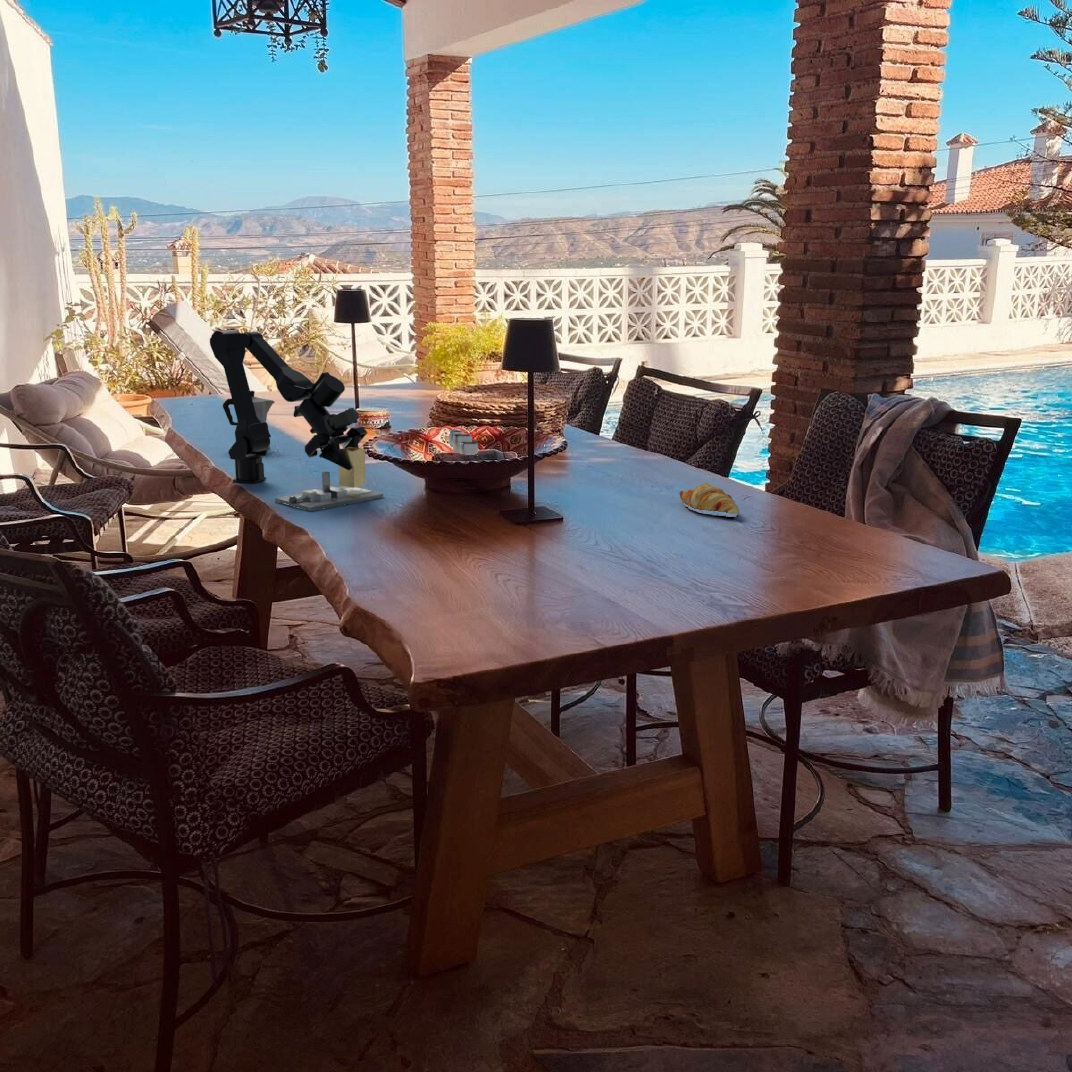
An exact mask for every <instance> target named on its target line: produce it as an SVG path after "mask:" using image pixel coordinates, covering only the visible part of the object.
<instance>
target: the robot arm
mask: <svg viewBox="0 0 1072 1072" xmlns="http://www.w3.org/2000/svg"><path fill="white" fill-rule="evenodd" d="M209 346H210V348H211V351H212V353H213V355H214V358H215V359H216V360H217V361H218V363H220V365H221V366H222V367H223V370H224V373H225V377H226V381H227V385H228V389H229V392H230V397H231V399H232V401H233V409H234V411H235V416H236V420H237V421H236V423H237V425H235V426H236V427H235V430H234V437H235V442H233V444H232V446H231V447H230V449H229V450H228V451H227V453H228V455H229V458H230V460H234V467H235V478H233V479H232V482H236V483H248V484H256V483H259V482H262V481H264V480H267V477H265V465H264V462H263V457H266V456H267V453H268V450H269V449H268V446H269V445H270V446H271V438H272V436H271V435H272V434H270V430H269V425H268V423H267V421H266V422H261V421H260V420H259V419H258V418H257V416H256V412H255V408H254V404H253V400H252V396H251V393H250V391H251V389H250V386H249V382H248V381H249V380H248V377H247V374H246V370H245V367H244V359H245V356H246V352H247V350H248V352H249V353H250V354H251V355H252V357H253V358H254V359H256V360H257V362H258V363H259V364H260V365H261V366H262V367H263V368H264V369H265V370H266V371H267V372H268V373H269V375H270V376H271V377H272V378H273V379H274V381H275V385H276V389H277V391H278V392H279V393H280V395H281V396H282V399H284V400H285V401H286V402H288V403H294V402H301V403H300V404H299V405H295V406H294V410H293V417H294V418H297V417H303V418H304V419H305V421H306V422H307V424H308V426H309V427H310V430H309V432H310V433H311V434H314V435H313V436H312V437H311V439H310V440H309V441H308V442H307V443H306V444H305V445H304V453H305V454H306V455H307V457H308V458H314V457H317V456H318V457H319V458H320V459H325V460H327V461H329V462H330V463H333V464H336V465H337V466H338V467H339V466H341V467H343V468H345V469H347V470H350V469H351V465H350V464H349V462H348V460H347V459H346V457H345V456H344V454H343V453H342V451H341V450H340V449H341V448H342V449H343V448H348V447H354V448H360V447H359V444H360V442H361V441H362V440H364V438H365V437H366V436H367V435H368V430H367V429H366V428H365V427H364V426H352V427H350V428H349V427H348V426H351V425H353V424H356V423H358V422H359V418H360V413H359V412H358V411H357V410H356V409H355V408H354V407H349V408H348V409H345V410H344V411H341V412H339V413H337V414H335V413H330V412H329V411H328V409H327V408H330V407H332V406H333V405H334V404H335V403H336V402H337V401H338V399H339V398H340V396H342V394H343V393H344V392H345V391H346V388H345V384H344V383H343V381H342V380H340V379H338V378H337V377H336V376H333V375H331V374H330V373H329V372H328V371H326V372H322V373H321V374H320V375H319V377H318V379H317V380H316V381H315V382H312V381H311V379H309V378H308V377H307V376H306V375H304V374H303V373H302V372H300V371H298V370H295V369H294V368H292V367H290V366H289V365H288V363H287V362H286V361H284V359H283V357H281V356H280V355H279V354H278V352H277V351H275V349H274V348H273V347H272V346H271V345H270V344H269V343H268V342H267V341H266V339H265V338H264V336H263V334H262V333H261V332H258V331H256V330H255V331H245V332H240V331H239V330H236V329H232V330H231V329H229V330H228V329H227V330H216V331H214V332H213V333H212V334H211V336H210V338H209ZM246 349H247V350H246ZM347 430H348V431H347ZM346 431H347V432H346ZM344 432H346V433H344ZM340 446H341V447H340ZM267 449H268V450H267ZM317 449H320V452H321V453H320V454H319V455H318V450H317Z"/></svg>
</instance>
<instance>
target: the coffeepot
mask: <svg viewBox="0 0 1072 1072" xmlns="http://www.w3.org/2000/svg"><path fill="white" fill-rule="evenodd" d="M255 392H256V391H254V390H250V393H251V396H252V400H253V404H254V408H255V412H256V416H257V418H258V419H259V420H260V421H261V422H266V423H267V420H268V419H267V418H268V413H269V412H270V409H271V408H272V406H273V404H275V403H276V401H274V400H271V399H269V398H268V399H267V398H262V397H261V398H260V397H257V396H255ZM230 405H231V406H232V405H233V401H232V398H227V399H226V400H225V401H224V402H223V404H222V409H223V410H224V414H225V416H226V418H227V421H228V422H229V425H230V426H237V421H236V422H235V421H234V420H233V419H234V418H233V415H232V413H231V409H230V407H229V406H230ZM233 406H234V405H233ZM270 449H271V444H270V445H269V446H268V449H267V451H268V450H270Z"/></svg>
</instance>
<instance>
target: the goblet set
mask: <svg viewBox="0 0 1072 1072" xmlns="http://www.w3.org/2000/svg"><path fill="white" fill-rule="evenodd" d="M445 430H446V429H445ZM449 431H450V435H449V444H450V446H451V447H453V450H454V452H455V453H460V454H465V455H475V454H477V453H478V454H479V444H478V442H476V441H473V437H472V434H469V433H463V430H459V429H456V428H454V429H453V430H449Z"/></svg>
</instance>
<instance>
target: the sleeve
mask: <svg viewBox="0 0 1072 1072" xmlns="http://www.w3.org/2000/svg"><path fill="white" fill-rule="evenodd" d="M340 450H341V451H342V453H343V454H344V456H345V457H346V459H347V460H348V462H349V464H350V465H351V469H350V470H347V469H345V468H343V467H341V466H339V465H338V487H341V486H346V487H353V488H355V487H358V488H359V487H362V486H366V454H365V452H366V449H365V448H361V447H359V448H354V447H348V448H343V447H342V448H340Z"/></svg>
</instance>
